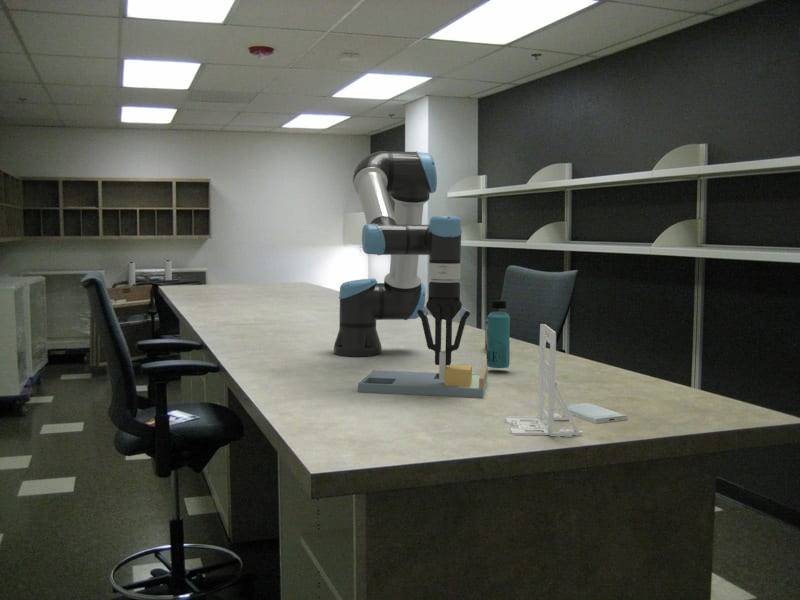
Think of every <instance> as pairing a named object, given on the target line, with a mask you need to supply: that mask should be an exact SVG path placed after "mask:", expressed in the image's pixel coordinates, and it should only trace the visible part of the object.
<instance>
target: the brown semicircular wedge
mask: <svg viewBox="0 0 800 600" xmlns="http://www.w3.org/2000/svg"><path fill="white" fill-rule="evenodd" d="M484 320H485V321H484V322H485V323H484V326H485V328H484V331H485V332H484V333H485V334H484V335H485V336H484V338H485V339H484V350H485V353H487V329H488V318H485V319H484Z"/></svg>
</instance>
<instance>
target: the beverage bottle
mask: <svg viewBox="0 0 800 600" xmlns="http://www.w3.org/2000/svg"><path fill="white" fill-rule="evenodd" d="M491 309H507V301H506V300H504V299H503V300H502V299H495V300H494V299H493V300H491ZM487 319H488V329H487V352H486V365H488V368H490V369H491V368H492V369H508V368H509V366H510V356H511V355H510V354H511V353H510V352H511V350H510V343H511V341H510V329H511V327H510V326H511V325H510V323H511V321H510V320H511V316H510V315H509V314H508V313H507V312H505V311H491V312H490V313H489V314H488V315H487Z"/></svg>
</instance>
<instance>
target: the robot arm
mask: <svg viewBox="0 0 800 600" xmlns="http://www.w3.org/2000/svg"><path fill="white" fill-rule="evenodd" d="M437 177H438V176H437V168H436V164H435V159H434V158H433V155H431V153H428V152H418V151H389V150H388V151H387V150H379V151H375V152H373V153H370V154H368V155H366V156H365V157H364V158H363V159H362V160H361V161H360V162H359V163H358V164H357V166H356V167H355V169H354V172H353V175H352V183H353V187H354V190H355V192H356V194H358V195H359V197H360V201H361V205H362V210H363V214H364V217H365V218H364V219H365V222H366V224H364V225H363V226H362V230H361V232H362V233H361V243H362V244H361V246H362V251H363V253H364V254H366V255H375V256H382V255H383V256H390V264H389V265H390V266H389V272H388V273H387V274H386V275H385V276H384V280H383V282H378V281H377V279H376V278H362V279H354V280H350V281H345V282H342V283H341V285H340V286H339V296H338V300H339V324H338V325H339V328H338V333H337V335H336V339H335V342H334V344H333V354H335V355H338V356H343V357H372V356H378V355H380V354H382V349H383V348H382V343H381V340H380V337H379V334H378V331H377V320H378V321H380V320H384V321H386V320H387V321H388V320H389V321H390V320H391V321H396V320H399V321H401V320H404V321H407V320H415V319H418V318H420V319H421V325H422V328H423V333H424V338H425V342H426V347H427V349H428V350H432V351H434V364H435V366H438V367H439V368H438V369H439V371H438V373H439V379H441V380H445V368H446V367H447V365H452V364H451V363H452V352H453V351H457V350H458V349H459V348H460V344H461V341H462V337H463V334H464V330H465V329H464V328H465V326H466V322H467V319H468V318H469V316H470V315H471V310H469V309H466V308H465V307H464V306H463V304H462V302H461V283H460V282H459V280H460V279H461V265H462V263H461V255H462V254H461V251H462V249H461V248H462V233H463V230H462V220H461V218H460V217H459V216H455V215H454V216H453V215H450V216H448V215H443V216H442V215H439V216H438V215H435V216H431V217H430V219H429V224H423V214H424V213H423V212H424V205H425V204H426V203H427V202H428V201H429V200H430V194H434V193H435V192H436V191H437V188H438V187H437V186H438V181H437V180H438V178H437ZM389 193H390V196H389ZM390 198H391V199H392V201H394V209H393V205H392V203H391V200H390ZM420 256H429V261H428V262H429V263H428V280H430V281H429V282H428V298H427V299H428V300H427V302H426V286H425V284H424V283H422V279H421V278H420V277H419V275H418V268H419V267H418V266H419V257H420ZM459 312H460V313H459ZM429 313H430V314H431V316H432V317H433V319H434V324H435V329H434V340H433V336H432V332H431V327H430V326H431V325H430V323H429V322H430V321H429V318H428V315H429ZM458 313H459V316H460V317H461V318H460V320H459V323H458V324H459V325H458V327H457V330H456V331H457V332H456V335H455V339H454V342H453V319H454V318H455V317H456V316H457V314H458ZM443 320H445V350H442V324H443V323H442V321H443Z"/></svg>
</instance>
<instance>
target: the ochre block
mask: <svg viewBox="0 0 800 600" xmlns="http://www.w3.org/2000/svg"><path fill="white" fill-rule="evenodd" d="M472 374H473V365H465V364H461V365H460V364H450V365H447V367H446V368H445V386H465V387H470V385H471V382H472Z"/></svg>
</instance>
